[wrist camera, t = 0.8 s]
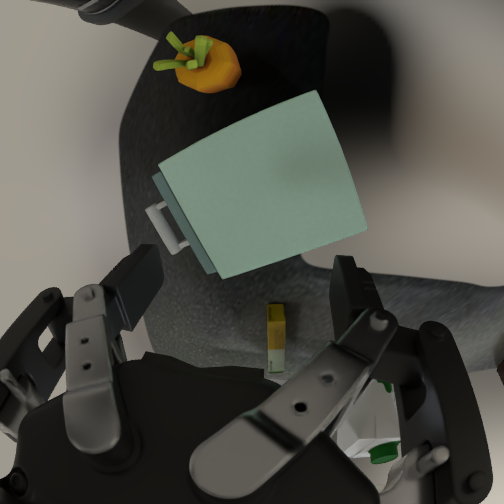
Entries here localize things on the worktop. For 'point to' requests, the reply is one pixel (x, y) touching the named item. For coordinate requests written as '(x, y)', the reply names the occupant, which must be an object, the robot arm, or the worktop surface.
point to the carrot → (203, 64)
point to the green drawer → (181, 220)
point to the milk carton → (372, 425)
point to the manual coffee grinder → (501, 371)
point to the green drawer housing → (267, 187)
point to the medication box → (275, 337)
